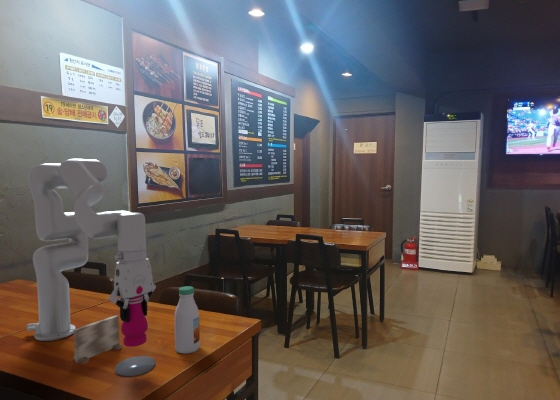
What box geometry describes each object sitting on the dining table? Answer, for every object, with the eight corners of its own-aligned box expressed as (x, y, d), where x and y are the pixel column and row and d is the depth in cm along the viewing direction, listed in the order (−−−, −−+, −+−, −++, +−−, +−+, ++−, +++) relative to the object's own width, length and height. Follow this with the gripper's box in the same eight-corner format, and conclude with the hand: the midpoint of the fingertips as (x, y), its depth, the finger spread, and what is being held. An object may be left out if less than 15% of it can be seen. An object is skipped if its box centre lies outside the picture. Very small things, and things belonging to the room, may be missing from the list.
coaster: (110, 378, 107) (110, 376, 107) (119, 359, 117) (119, 357, 117) (152, 374, 109) (152, 372, 109) (157, 356, 119) (157, 354, 119)
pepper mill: (139, 348, 108) (137, 278, 107) (116, 346, 110) (114, 277, 108) (152, 338, 115) (151, 271, 114) (131, 336, 117) (129, 270, 115)
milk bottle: (187, 356, 119) (186, 292, 118) (169, 350, 123) (168, 289, 122) (204, 347, 126) (203, 286, 124) (187, 341, 130) (186, 283, 128)
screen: (80, 364, 114) (79, 331, 114) (71, 360, 117) (70, 327, 116) (123, 347, 126) (122, 317, 125) (114, 343, 129) (113, 314, 128)
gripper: (112, 263, 102) (114, 330, 103) (165, 252, 116) (166, 311, 117) (96, 259, 106) (99, 324, 107) (149, 249, 120) (150, 307, 121)
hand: (134, 317), depth 112 cm, fingers closed on pepper mill, 5 cm apart
